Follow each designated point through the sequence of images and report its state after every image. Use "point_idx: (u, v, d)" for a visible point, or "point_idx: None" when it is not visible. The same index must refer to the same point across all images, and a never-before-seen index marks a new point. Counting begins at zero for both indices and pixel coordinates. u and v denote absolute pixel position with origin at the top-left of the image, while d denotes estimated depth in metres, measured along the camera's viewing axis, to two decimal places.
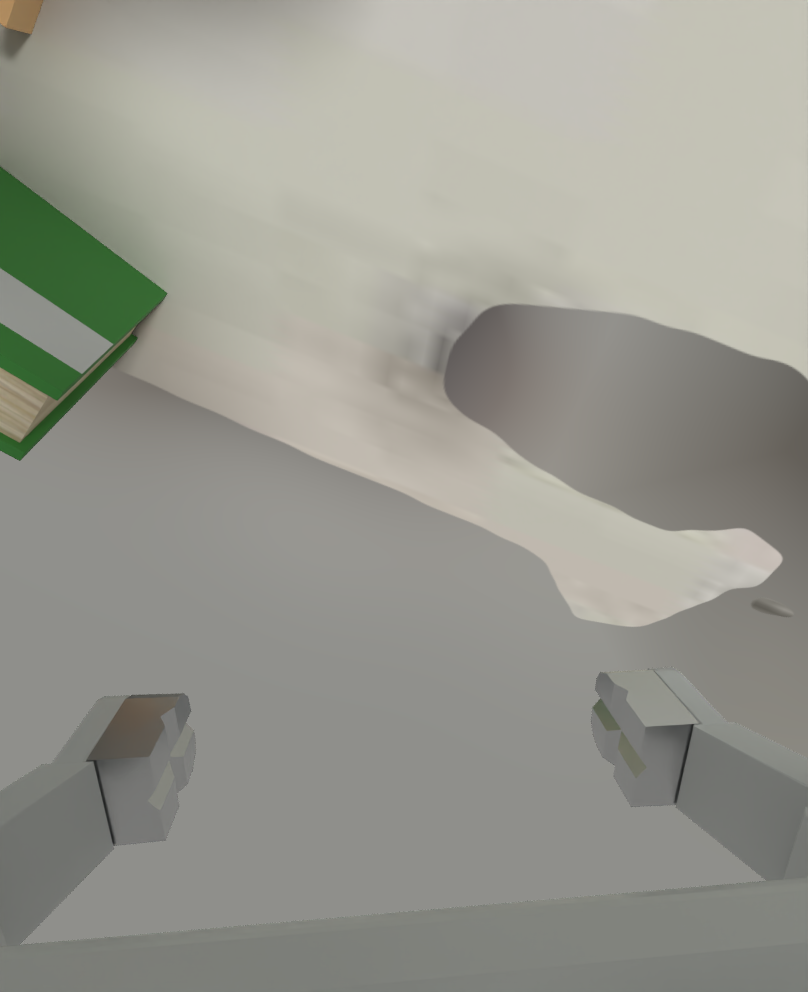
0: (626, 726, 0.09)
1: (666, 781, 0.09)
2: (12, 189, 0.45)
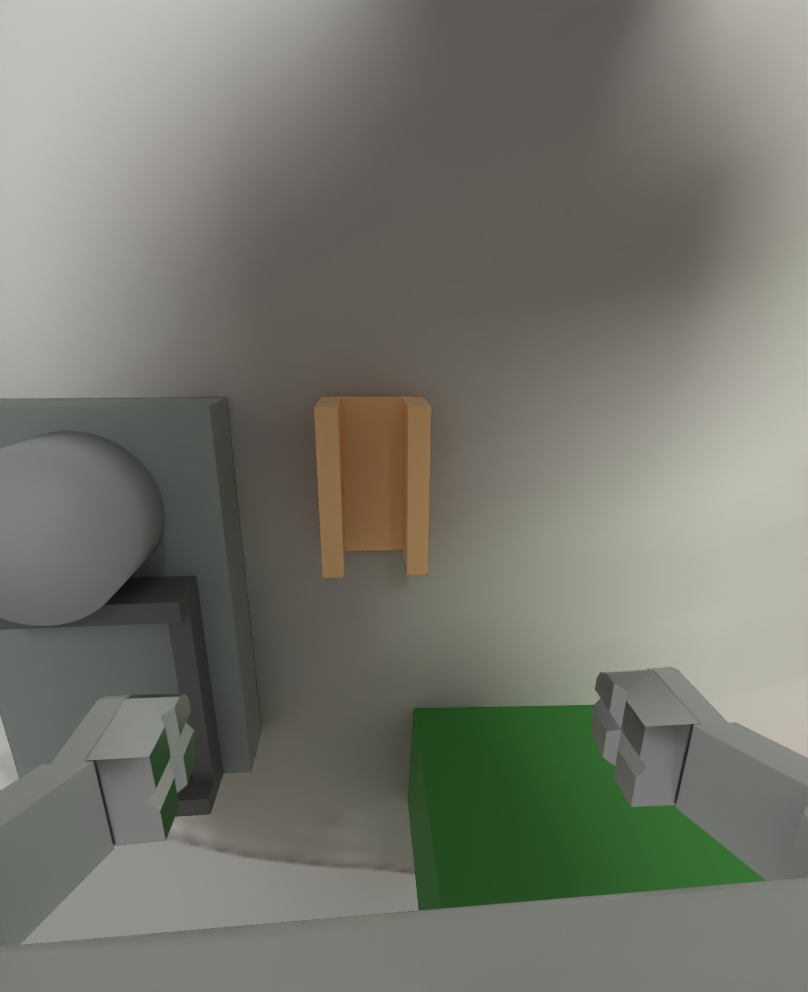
0: (626, 726, 0.09)
1: (666, 781, 0.09)
2: (479, 736, 0.29)
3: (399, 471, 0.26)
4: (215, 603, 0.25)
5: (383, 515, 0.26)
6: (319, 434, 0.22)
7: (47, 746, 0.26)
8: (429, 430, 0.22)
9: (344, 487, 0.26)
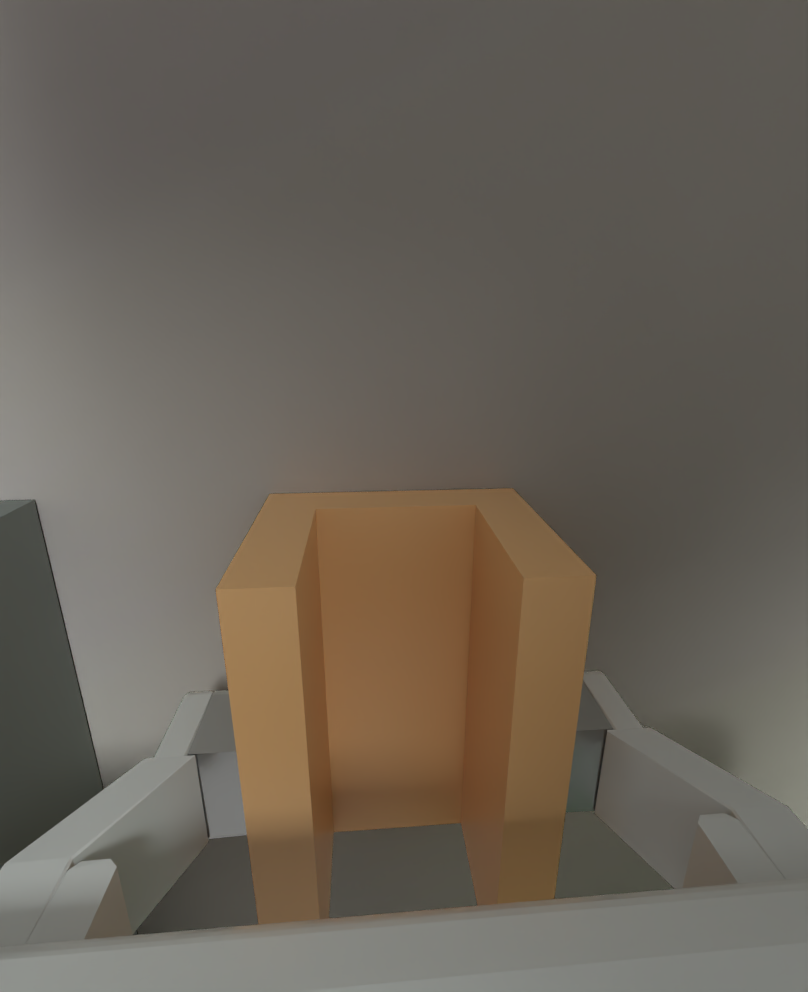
0: None
1: (583, 787, 0.09)
2: None
3: (460, 670, 0.11)
4: None
5: (421, 760, 0.11)
6: (241, 664, 0.07)
7: None
8: (584, 642, 0.07)
9: (328, 708, 0.11)
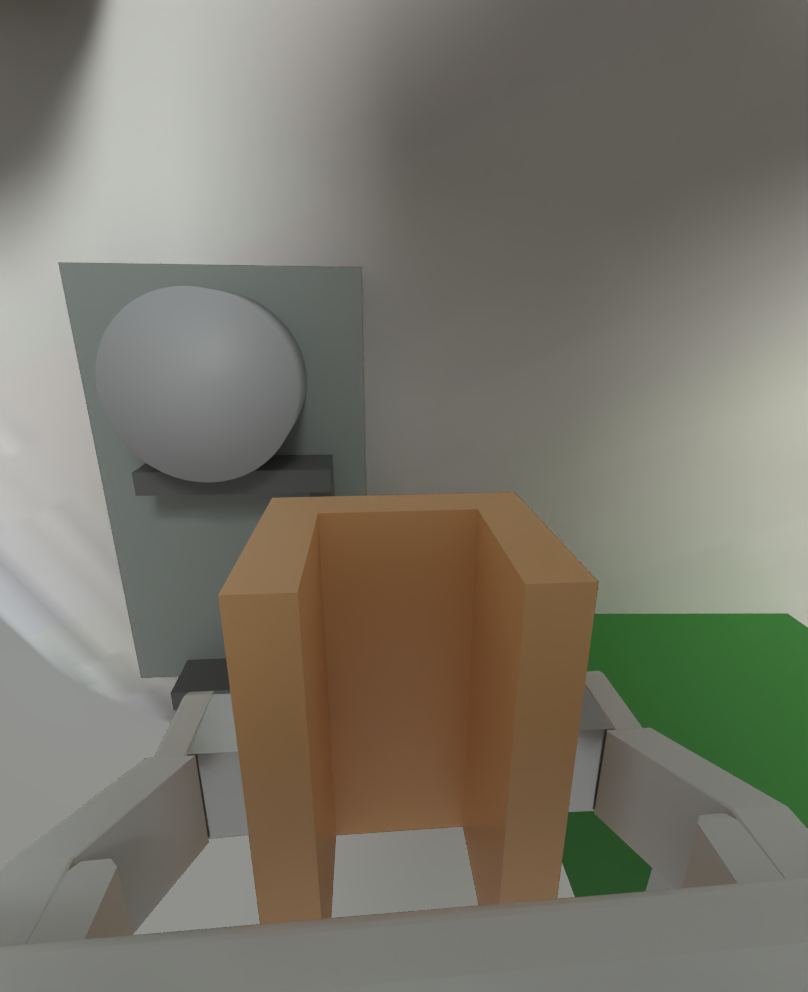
0: None
1: (583, 787, 0.09)
2: (593, 637, 0.29)
3: (462, 674, 0.11)
4: (349, 485, 0.24)
5: (423, 763, 0.11)
6: (243, 671, 0.07)
7: (170, 636, 0.26)
8: (586, 648, 0.07)
9: (331, 712, 0.11)
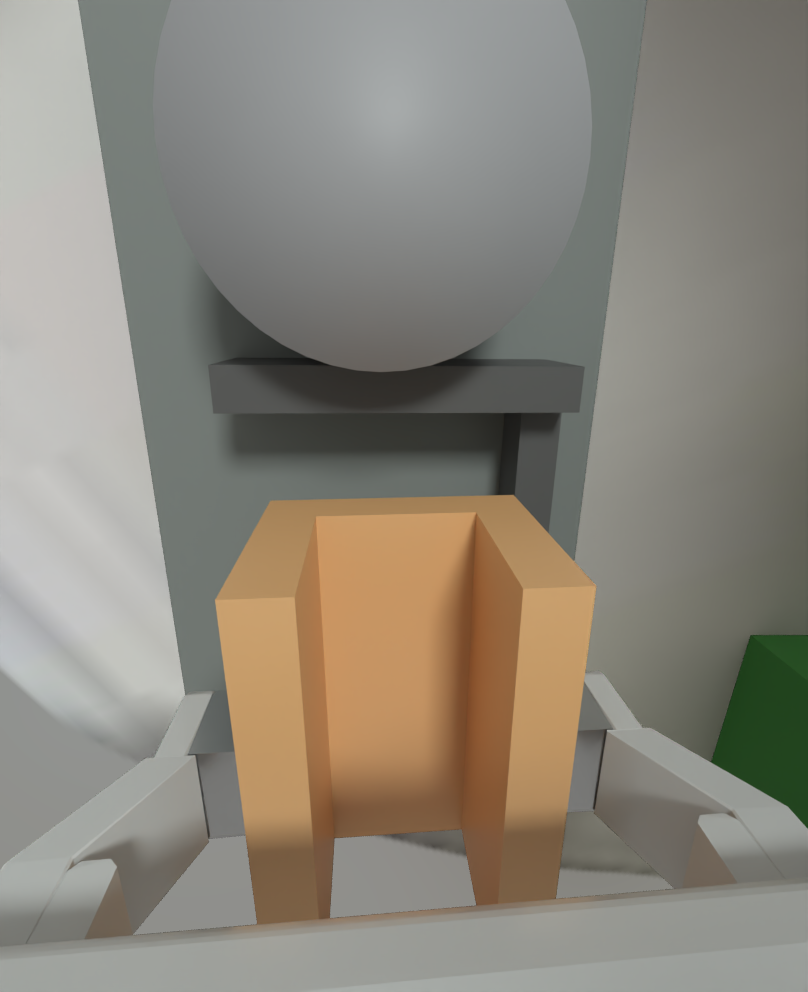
0: None
1: (583, 787, 0.09)
2: None
3: (461, 677, 0.11)
4: (566, 416, 0.14)
5: (421, 766, 0.11)
6: (240, 675, 0.07)
7: None
8: (583, 653, 0.07)
9: (329, 714, 0.11)
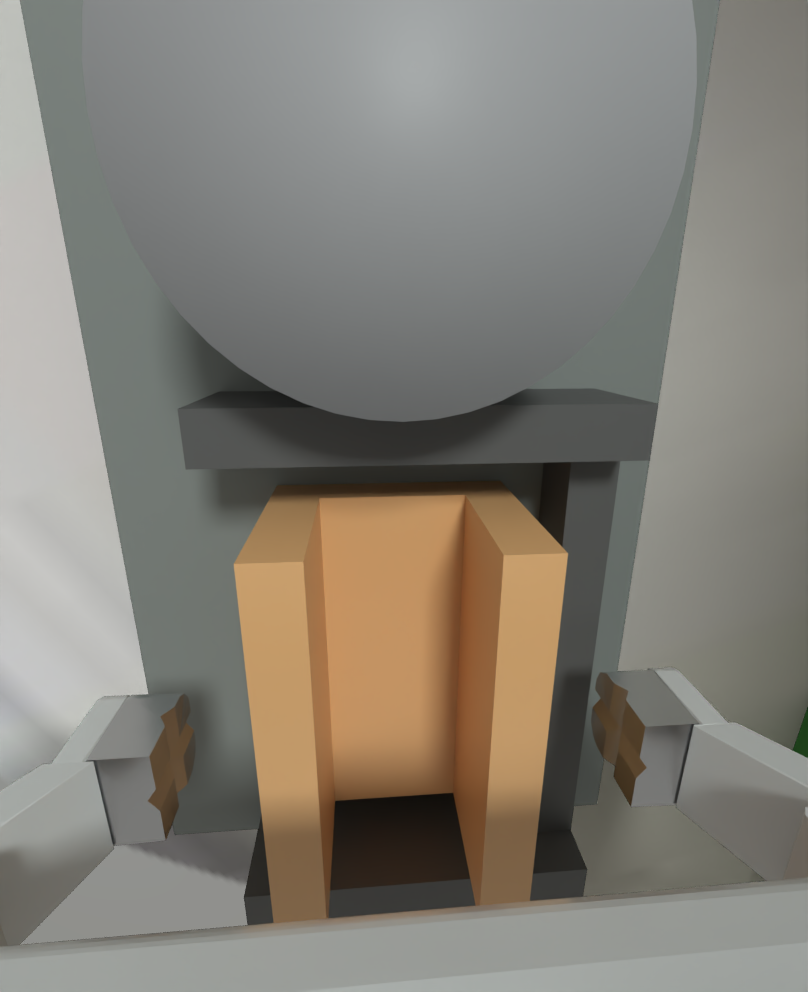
0: (627, 727, 0.09)
1: (666, 781, 0.09)
2: None
3: (452, 648, 0.12)
4: None
5: (415, 732, 0.12)
6: (255, 631, 0.08)
7: (233, 759, 0.13)
8: (558, 613, 0.08)
9: (331, 683, 0.12)
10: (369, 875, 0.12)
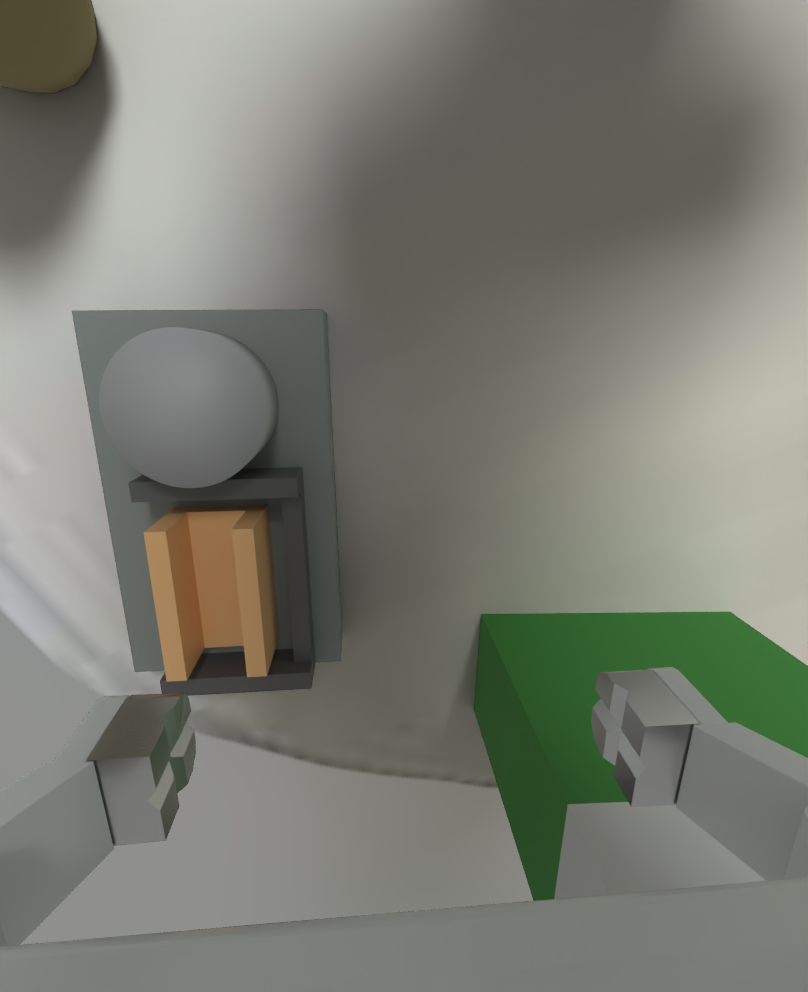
0: (626, 726, 0.09)
1: (666, 781, 0.09)
2: (545, 632, 0.32)
3: None
4: (317, 494, 0.28)
5: (237, 614, 0.28)
6: (151, 555, 0.24)
7: None
8: (253, 549, 0.24)
9: (198, 590, 0.28)
10: (215, 675, 0.28)
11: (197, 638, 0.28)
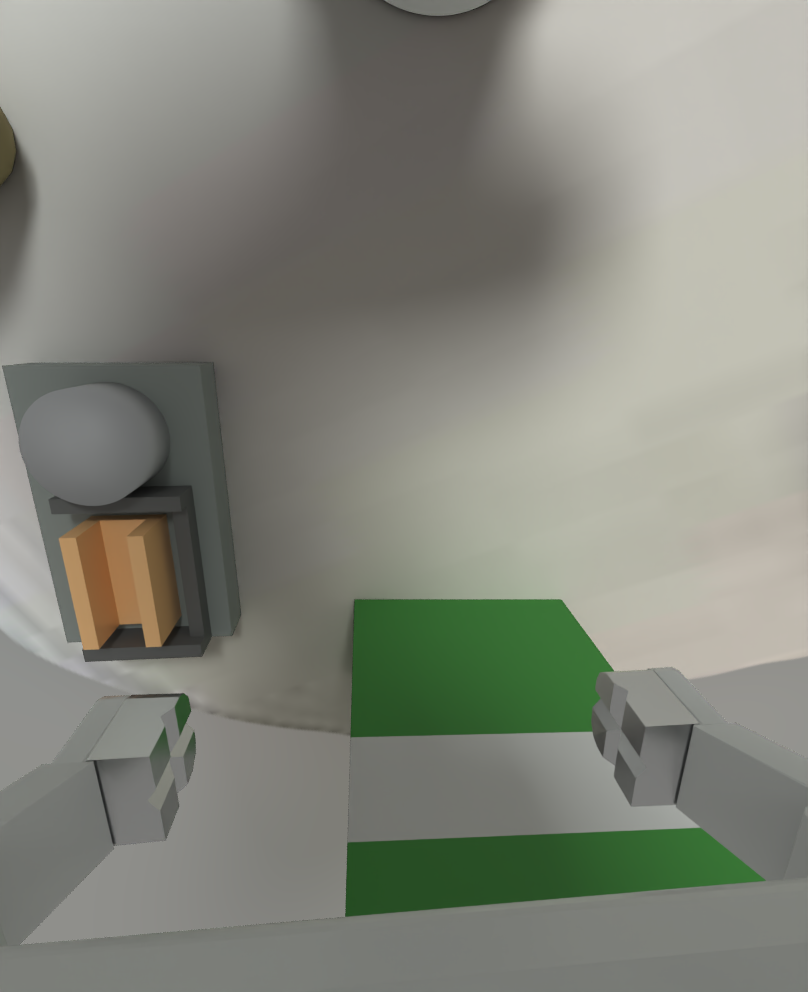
0: (627, 726, 0.09)
1: (666, 781, 0.09)
2: (399, 614, 0.40)
3: None
4: (205, 506, 0.35)
5: None
6: (65, 555, 0.32)
7: None
8: (144, 551, 0.32)
9: (111, 580, 0.35)
10: (126, 645, 0.36)
11: (111, 617, 0.35)
